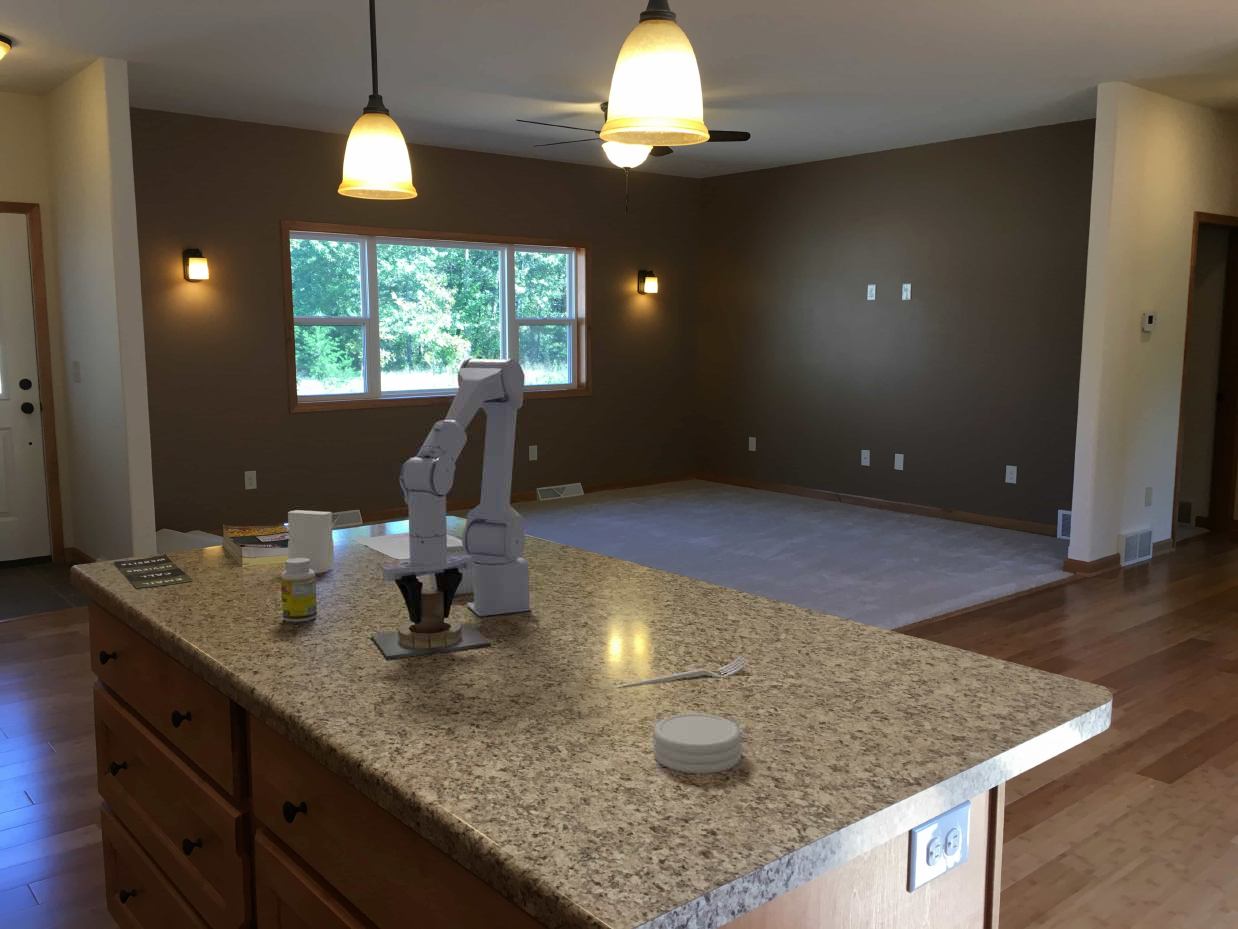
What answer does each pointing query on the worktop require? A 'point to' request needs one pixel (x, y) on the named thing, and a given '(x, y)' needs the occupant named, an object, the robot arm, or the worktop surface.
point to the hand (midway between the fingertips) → (429, 619)
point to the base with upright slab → (311, 538)
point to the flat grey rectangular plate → (429, 640)
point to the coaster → (697, 743)
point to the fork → (696, 673)
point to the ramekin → (467, 574)
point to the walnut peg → (431, 611)
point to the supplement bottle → (298, 591)
